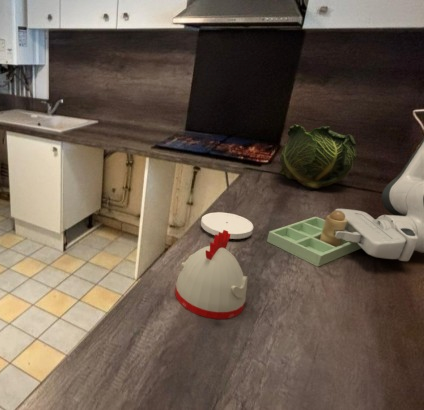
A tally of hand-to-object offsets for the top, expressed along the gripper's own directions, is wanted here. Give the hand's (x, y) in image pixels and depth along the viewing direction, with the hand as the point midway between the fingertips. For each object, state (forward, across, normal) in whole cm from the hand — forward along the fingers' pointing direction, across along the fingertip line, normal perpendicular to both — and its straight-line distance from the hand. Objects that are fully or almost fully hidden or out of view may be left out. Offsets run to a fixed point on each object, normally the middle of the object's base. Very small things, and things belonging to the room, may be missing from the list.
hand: (329, 228), depth 91 cm
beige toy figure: (-1, 0, +5) cm, 5 cm away
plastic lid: (+23, -7, +6) cm, 25 cm away
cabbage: (-16, -54, +6) cm, 56 cm away
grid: (+1, -2, +6) cm, 7 cm away
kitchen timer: (+33, +26, +6) cm, 42 cm away
